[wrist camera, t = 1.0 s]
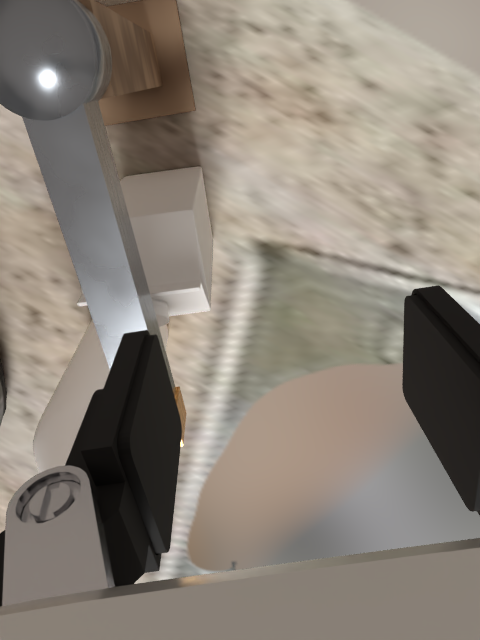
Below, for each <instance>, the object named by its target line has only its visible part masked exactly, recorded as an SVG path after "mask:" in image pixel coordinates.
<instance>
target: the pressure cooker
mask: <svg viewBox="0 0 480 640" xmlns="http://www.w3.org/2000/svg"><path fill="white" fill-rule="evenodd" d="M6 394H7V392H6V386H5V380H4V373H3V367H2V363H1V361H0V425H1V422H2V418H3V415H4V413H5V409H6V398H7V397H6Z"/></svg>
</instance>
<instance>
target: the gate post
mask: <svg viewBox="0 0 480 640" xmlns="http://www.w3.org/2000/svg"><path fill="white" fill-rule="evenodd" d="M78 1H79V2H81V3H82V4H83V5H84V6H86V7H87V8H88V9H89V10H90V11H91V12H92V13H93V15H94V16H95V17H96V18H97V20H98V21H99V23H100V24H101V26H102V28H103V29H104V31H105V34H106V36H107V38H108V41H109V45H110V49H111V54H112V73H111V79H110V82H109V85H108V87H107V90H106V92H105V93H104V95H103V96H102V98H101V99H100V100H99V101H98V103H99V107H100V110H101V114H102V118H103V121H104V125H105V126H107V125H113V124H119V123H125V122H131V121H137V120H143V119H149V118H155V117H161V116H166V115H172V114H178V113H184V112H190V111H195V110H196V108H195V103H194V97H193V92H192V86H191V81H190V75H189V69H188V64H187V58H186V53H185V47H184V41H183V36H182V30H181V25H180V19H179V14H178V8H177V2H176V0H141V1H135V2H130V3H124V4H119V5H113V6H107V7H106V6H104V5H102V4H100V3H99V2H97V1H95V0H78Z"/></svg>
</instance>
